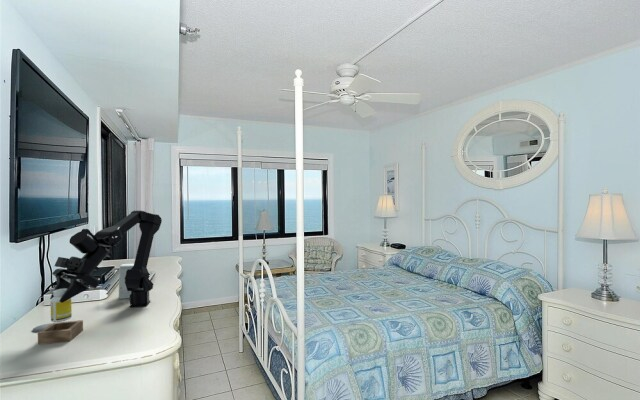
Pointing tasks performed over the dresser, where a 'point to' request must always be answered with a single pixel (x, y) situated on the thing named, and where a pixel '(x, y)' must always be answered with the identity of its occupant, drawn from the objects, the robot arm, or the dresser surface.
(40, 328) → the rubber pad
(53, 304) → the supplement bottle
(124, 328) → the dresser surface
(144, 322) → the dresser surface
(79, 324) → the wooden tray
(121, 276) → the skincare box
